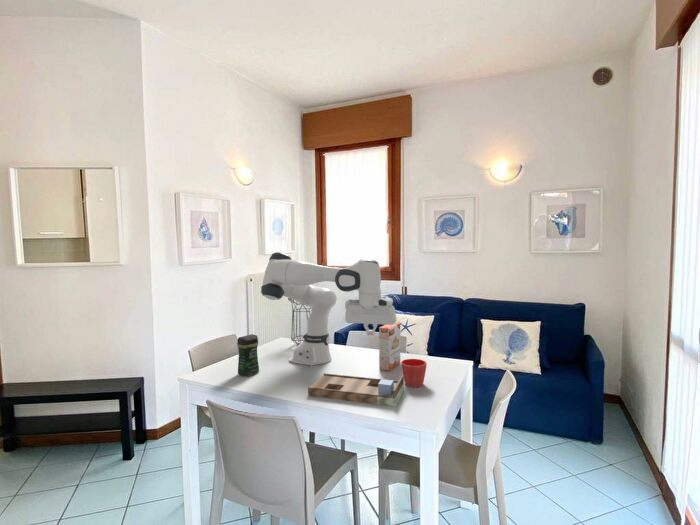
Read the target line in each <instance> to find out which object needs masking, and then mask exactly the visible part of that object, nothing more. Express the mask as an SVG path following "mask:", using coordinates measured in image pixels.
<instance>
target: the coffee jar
mask: <svg viewBox="0 0 700 525" xmlns="http://www.w3.org/2000/svg"><path fill="white" fill-rule="evenodd" d="M236 344H237V348H238V364H237V375H239V376H241V377H251V376H252V375H253V376H254V375H256V374H258V373H259V372H260V366H259V356H258V346H259V338H258V335H256V334H248V335H243V336H239V337H238V338H237V343H236Z"/></svg>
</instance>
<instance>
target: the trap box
mask: <svg viewBox="0 0 700 525" xmlns="http://www.w3.org/2000/svg"><path fill="white" fill-rule="evenodd" d="M381 379H382V378H376V377H375V378H374V377H373V378H372V377H364V376H353V375H346V374H344V375H343V374H332V373H323V374H322V376H321V377H320V378H318V379H317V380H316V381H315V382H314V383H313V384H312V385H310V386H308V387H307V396H308V397H313V398H315V397H316V398H322V399H323V398H324V399H331V400H339V401H345V402H346V401H348V402H355V403H363V404H372V405H380V406H386V407H396V406H397V404H398V402H399V400H400V399H401V396H402V395H403V393H404V390H405V381H404V376H403V375H401V376H400V378H399V379H398V380H396V379H395V380H394V379H392V380H393V381H394V390H393V393H392V394H391V395H384V394H378V383H379V382H380V381H381ZM383 380H387V379H385V378H383Z"/></svg>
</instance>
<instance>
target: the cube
mask: <svg viewBox="0 0 700 525" xmlns="http://www.w3.org/2000/svg"><path fill="white" fill-rule="evenodd" d="M380 379H381V381H380V382H379V383H378V394H384V395H391V394H392V393H393V390H394V381H393V380H394V379H386V380H383V379H384V378H383V379H382V378H380Z"/></svg>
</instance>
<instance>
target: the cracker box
mask: <svg viewBox="0 0 700 525" xmlns="http://www.w3.org/2000/svg"><path fill="white" fill-rule="evenodd" d="M378 330H379V331H378V332H379V333H378V337H379V338H378V341H379V342H378V343H379V345H378V355H379V357H378V361H379V362H378V366H379V370H381V371H386V372H390V371H392V370H393V369H395V368H396V367H397V366H399V365H400V364H401V323H399V322H395V324H394V325H382V326H379V327H378Z"/></svg>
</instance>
